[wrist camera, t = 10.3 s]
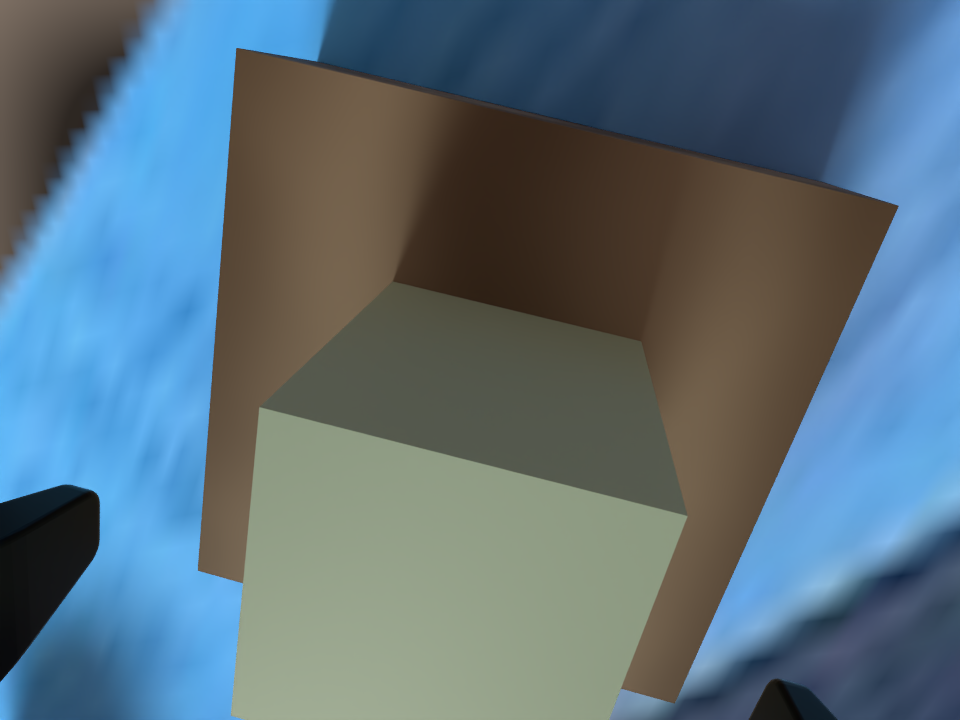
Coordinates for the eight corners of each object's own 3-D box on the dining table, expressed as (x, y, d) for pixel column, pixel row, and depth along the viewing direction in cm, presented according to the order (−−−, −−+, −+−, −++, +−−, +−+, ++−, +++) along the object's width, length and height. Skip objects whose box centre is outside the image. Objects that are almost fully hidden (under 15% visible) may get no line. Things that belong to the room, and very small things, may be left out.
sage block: (641, 341, 13) (687, 515, 7) (575, 548, 15) (573, 811, 9) (392, 281, 13) (259, 406, 8) (358, 492, 15) (230, 715, 10)
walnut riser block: (821, 181, 15) (899, 205, 12) (656, 591, 20) (674, 703, 16) (316, 61, 16) (236, 47, 12) (267, 485, 20) (197, 570, 17)
